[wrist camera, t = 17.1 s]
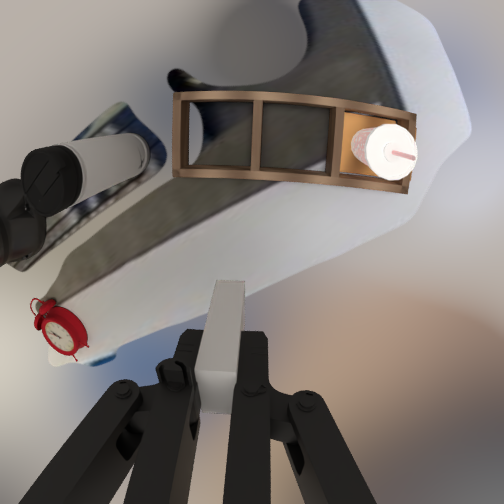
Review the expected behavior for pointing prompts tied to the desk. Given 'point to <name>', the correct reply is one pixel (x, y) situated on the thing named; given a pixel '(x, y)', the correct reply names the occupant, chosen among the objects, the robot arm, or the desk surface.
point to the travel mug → (80, 170)
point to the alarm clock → (60, 328)
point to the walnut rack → (336, 162)
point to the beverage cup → (386, 150)
